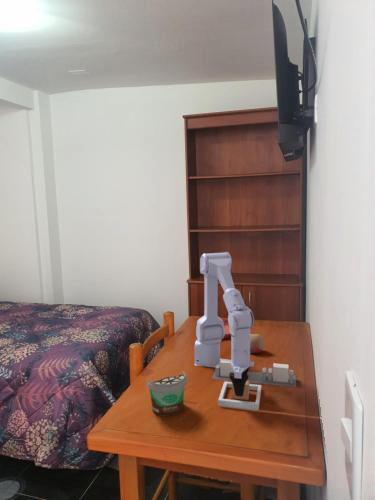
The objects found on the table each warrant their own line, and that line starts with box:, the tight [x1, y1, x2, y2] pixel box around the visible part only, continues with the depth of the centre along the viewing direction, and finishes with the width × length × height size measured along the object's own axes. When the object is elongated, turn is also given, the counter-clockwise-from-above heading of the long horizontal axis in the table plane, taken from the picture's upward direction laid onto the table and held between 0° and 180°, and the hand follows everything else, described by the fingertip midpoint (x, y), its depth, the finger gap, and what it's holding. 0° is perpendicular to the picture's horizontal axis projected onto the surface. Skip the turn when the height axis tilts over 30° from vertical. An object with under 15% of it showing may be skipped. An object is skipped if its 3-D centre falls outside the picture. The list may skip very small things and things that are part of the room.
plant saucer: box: [222, 319, 231, 340], centre depth 177 cm, size 18×18×3 cm
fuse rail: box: [211, 363, 297, 388], centre depth 131 cm, size 28×8×4 cm, turn 76°
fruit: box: [250, 333, 265, 355], centre depth 153 cm, size 8×8×8 cm
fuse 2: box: [272, 362, 290, 383], centre depth 128 cm, size 5×3×5 cm, turn 76°
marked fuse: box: [231, 380, 250, 401], centre depth 118 cm, size 5×3×5 cm, turn 76°
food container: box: [146, 371, 188, 417], centre depth 111 cm, size 12×6×10 cm, turn 117°
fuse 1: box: [220, 358, 234, 377], centre depth 133 cm, size 5×3×5 cm, turn 76°
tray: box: [217, 380, 262, 412], centre depth 118 cm, size 12×12×2 cm
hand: (240, 389), depth 118 cm, fingers open, 7 cm apart
